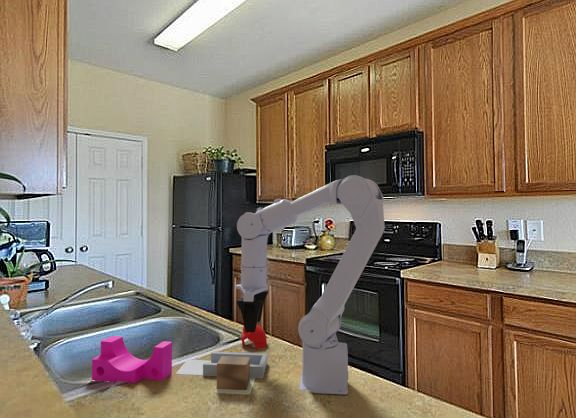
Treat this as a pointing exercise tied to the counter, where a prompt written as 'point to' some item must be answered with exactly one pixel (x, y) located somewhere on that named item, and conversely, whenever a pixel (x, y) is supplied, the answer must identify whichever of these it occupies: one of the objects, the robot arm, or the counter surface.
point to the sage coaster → (237, 390)
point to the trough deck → (210, 367)
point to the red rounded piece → (255, 337)
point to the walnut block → (233, 373)
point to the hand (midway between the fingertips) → (253, 326)
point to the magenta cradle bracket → (130, 362)
